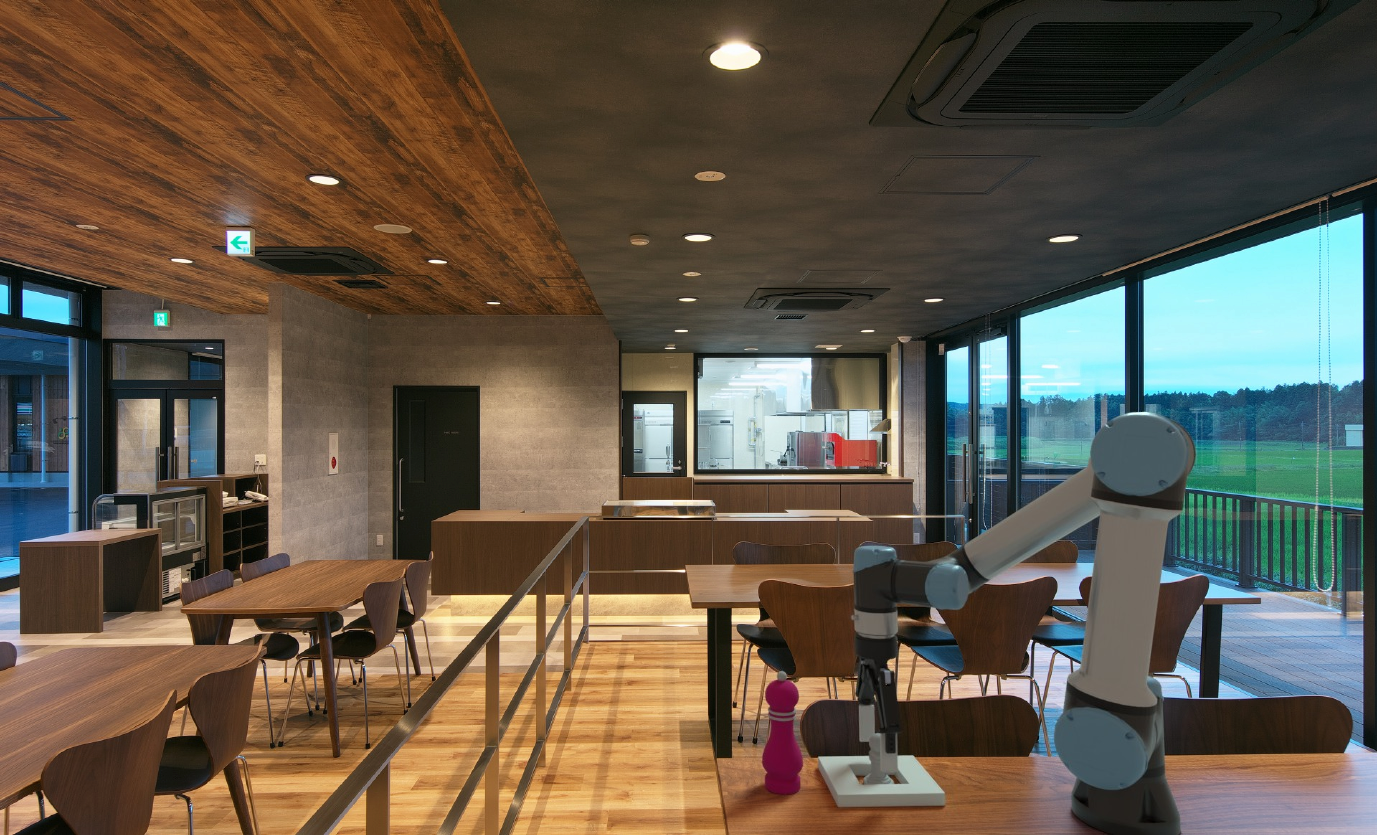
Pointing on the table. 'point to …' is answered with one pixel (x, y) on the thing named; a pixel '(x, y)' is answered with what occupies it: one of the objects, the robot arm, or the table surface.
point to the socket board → (850, 793)
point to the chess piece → (876, 764)
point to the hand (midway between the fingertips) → (877, 755)
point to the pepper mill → (782, 738)
